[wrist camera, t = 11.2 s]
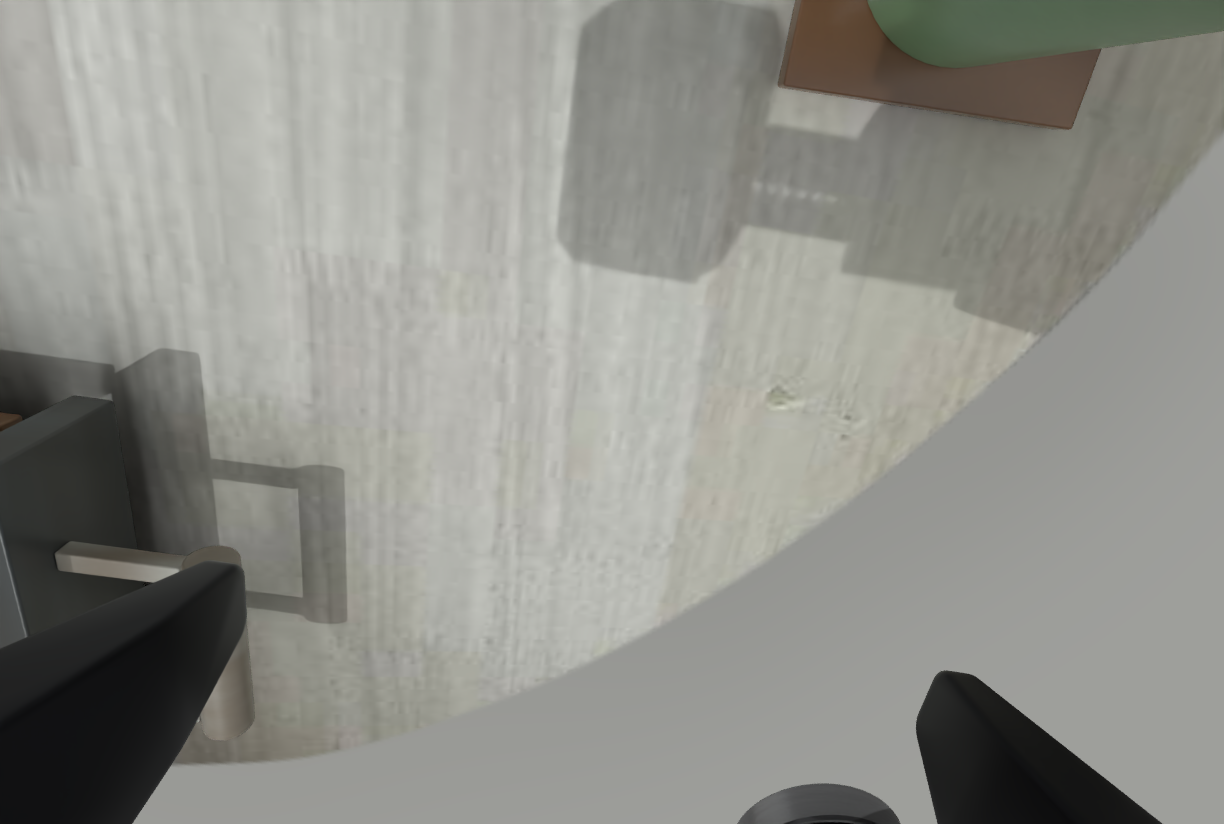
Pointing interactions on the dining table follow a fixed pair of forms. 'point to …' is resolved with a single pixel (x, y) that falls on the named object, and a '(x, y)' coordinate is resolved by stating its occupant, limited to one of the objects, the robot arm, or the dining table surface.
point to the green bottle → (1034, 26)
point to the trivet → (925, 71)
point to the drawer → (87, 538)
